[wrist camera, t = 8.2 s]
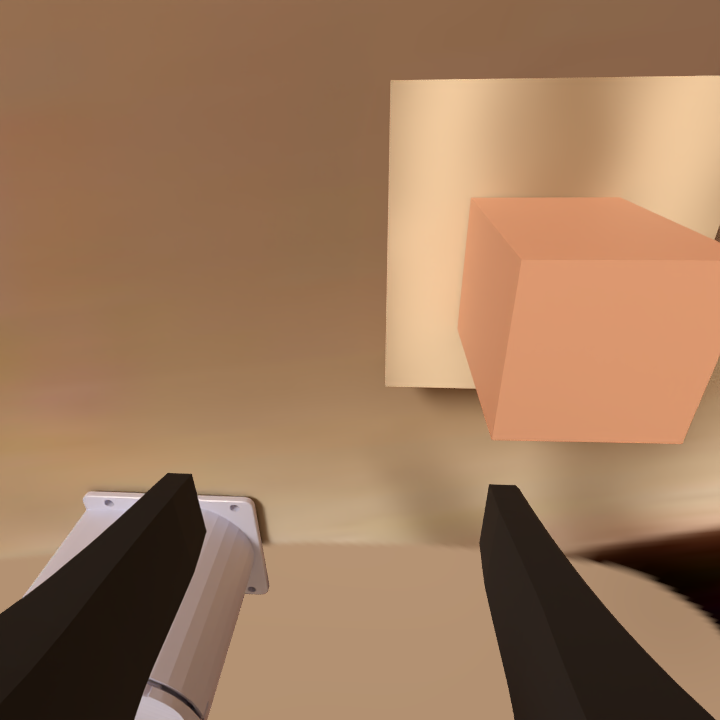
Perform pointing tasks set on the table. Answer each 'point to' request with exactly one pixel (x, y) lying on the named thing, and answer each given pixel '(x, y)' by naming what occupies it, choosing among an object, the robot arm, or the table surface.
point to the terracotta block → (587, 319)
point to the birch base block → (526, 181)
